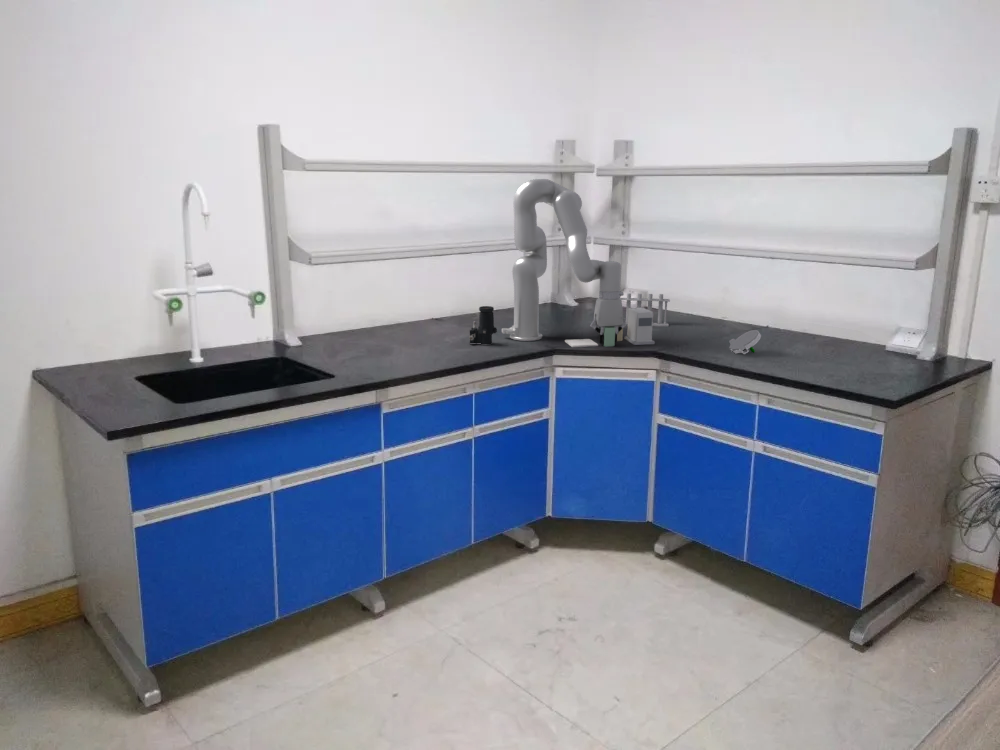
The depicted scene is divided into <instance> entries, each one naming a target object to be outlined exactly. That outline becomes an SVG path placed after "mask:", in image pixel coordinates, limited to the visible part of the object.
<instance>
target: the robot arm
mask: <svg viewBox="0 0 1000 750" xmlns="http://www.w3.org/2000/svg"><path fill="white" fill-rule="evenodd" d="M538 203H545V204H547V205H549V206H551V207H553V210H554V212H555V215H556V218H557V220H558V223H559V225H560V227H561V231H562V233H563V235H564V238H565V246H566V251H567V256H568V257H567V258H568V260H569V263H570V265H571V268H572V271H573V274H574V275H575V277H576V278H577V280H579V281H580V282H581V283H586V284H587V283H590V282H593V281H596V280H599V290H598V291H599V292H598V293H599V295H598V298H596V301H595V306H594V312H593V313H594V314H593V320H592V322H591V323H590V325H589V327H590V328H592V329H593V330H594V331H595V332H597V334H598V343H599V345H601V346H603V345H604V335H603V331H604V327H608V326H613V327H615V345H616V343H617V342H618V341H617V334H618V333H619V331H620V330H621V329H622V328H623V329H624V328H625V327H626V326H628V325H627V324H626V323H625V322H626V320H624V309H623V302H622V301H623V300H621V299H620V298H622V296H624V292H623V291H622V290H621V279H622V278H621V277H622V275H621V274H622V264H621V263H620V262H618V261H614V260H613V261H611V260H609V261H608V260H607V261H604V260H603V261H602V260H597V259H591V258H590V255H589V251H588V247H587V237H588V228H587V226H586V222H585V221H584V218H583V215H582V213H581V209H582V206H583V201H582V198H581V197H580V195H579V194H578V193H577V192H575V191H573V190H571V189H569V188H567V187H566V186H563V185H561V184H559V183H557V182H555V181H553V180H550V179H547V178H535V179H530V180H528V181H525V182H524V183H522V184H521V185H520V186H519V187H517V190H516V192H515V194H514V196H513V231H514V232H513V233H514V235H513V236H514V238H513V239H514V246H515V248H516V249H517V250H518V251H519V252H522V254H523V256H520V257H519V258H517V260H515V261H514V264H513V266H512V271H511V272H512V280H513V296H514V297H513V325H511V326H510V327H509V328H507V327H503V328H501V334H507V335H509V338H510V339H511V340H514V341H521V342H527V341H528V342H531V341H532V342H533V341H539V340H541V339H543V334H542V333H540V332H539V326H540V325H539V321H540V320H539V319H540V318H539V316H540V314H539V313H540V311H539V310H540V309H539V308H540V289H539V288H540V287H539V281H538V280H539V279H538V278H540V277H542V276H544V274H545V273H546V271H547V267H548V266H547V265H548V254H547V253H548V252H547V247H548V245H547V238H546V236H547V235H546V233H545V231H544V230H543V229H542V228H541V227H540V226H538V223H537V222H538V221H537V217H538V216H537V211H536V204H538Z"/></svg>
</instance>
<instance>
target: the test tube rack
mask: <svg viewBox="0 0 1000 750" xmlns="http://www.w3.org/2000/svg"><path fill="white" fill-rule="evenodd" d="M647 297H648V298H644V297H643V296H642V293H637V297H632V293H631V292H630V293H629V292H627V293H626V297H620V299H621V301H626V307H625V308H626V309H625V312H626V313H625V323H626V324H627V325H626V326H628V308H632V307H631V305H632V304H631V303H632V302H633V301H635V302H636V308H642V302H647V310H649V311H651V312H653V311H652V309H653V302H658V307H657V308H658V312H657V322H654V321H653V326H652V327H669V322H667V312H668V310H667V309H668V302H671V300H670V298H664V294H663V293H659V295H658V298H653V293H648V295H647ZM663 307H664V308H663ZM663 309H664V316H663ZM663 317H664V319H663ZM662 321H663V322H662Z"/></svg>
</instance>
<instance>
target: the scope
mask: <svg viewBox="0 0 1000 750" xmlns="http://www.w3.org/2000/svg"><path fill="white" fill-rule="evenodd" d="M494 309H495V308H494V306H489V305H484V306H483V305H482V306H479V308H478V311H479V313H478V314H479V316H478V317H479V319H478V328H477V321H474V320H473V323H472V327H471V329H469V335H468V336H469V337H468V340H469V344H470V343H481V344H491V343H492V344H493V336H492V335H493V334H496V333H498V329H497V327H496V326H495V323H494V318H495V317H494ZM481 344H480V345H481ZM492 344H491V345H492Z"/></svg>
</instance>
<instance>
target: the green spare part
mask: <svg viewBox="0 0 1000 750" xmlns="http://www.w3.org/2000/svg"><path fill="white" fill-rule="evenodd" d="M603 335H604V345H602V346H603V347H615V327H613V326H608V327H604V331H603Z"/></svg>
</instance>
